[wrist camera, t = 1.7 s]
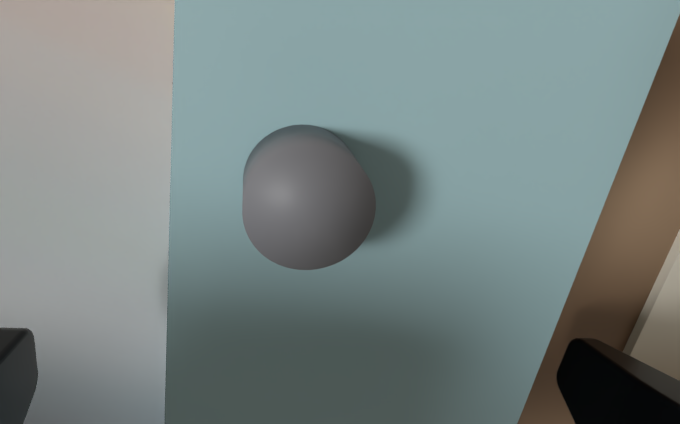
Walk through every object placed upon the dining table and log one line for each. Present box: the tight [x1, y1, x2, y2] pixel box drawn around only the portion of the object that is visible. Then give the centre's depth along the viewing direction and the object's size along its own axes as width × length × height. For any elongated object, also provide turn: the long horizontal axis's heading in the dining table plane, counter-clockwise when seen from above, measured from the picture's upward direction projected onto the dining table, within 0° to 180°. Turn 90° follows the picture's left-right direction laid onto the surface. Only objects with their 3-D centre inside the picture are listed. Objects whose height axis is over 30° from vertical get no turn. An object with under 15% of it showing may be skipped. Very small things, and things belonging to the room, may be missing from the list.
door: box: [165, 0, 680, 424], centre depth 8 cm, size 12×5×5 cm, turn 171°
